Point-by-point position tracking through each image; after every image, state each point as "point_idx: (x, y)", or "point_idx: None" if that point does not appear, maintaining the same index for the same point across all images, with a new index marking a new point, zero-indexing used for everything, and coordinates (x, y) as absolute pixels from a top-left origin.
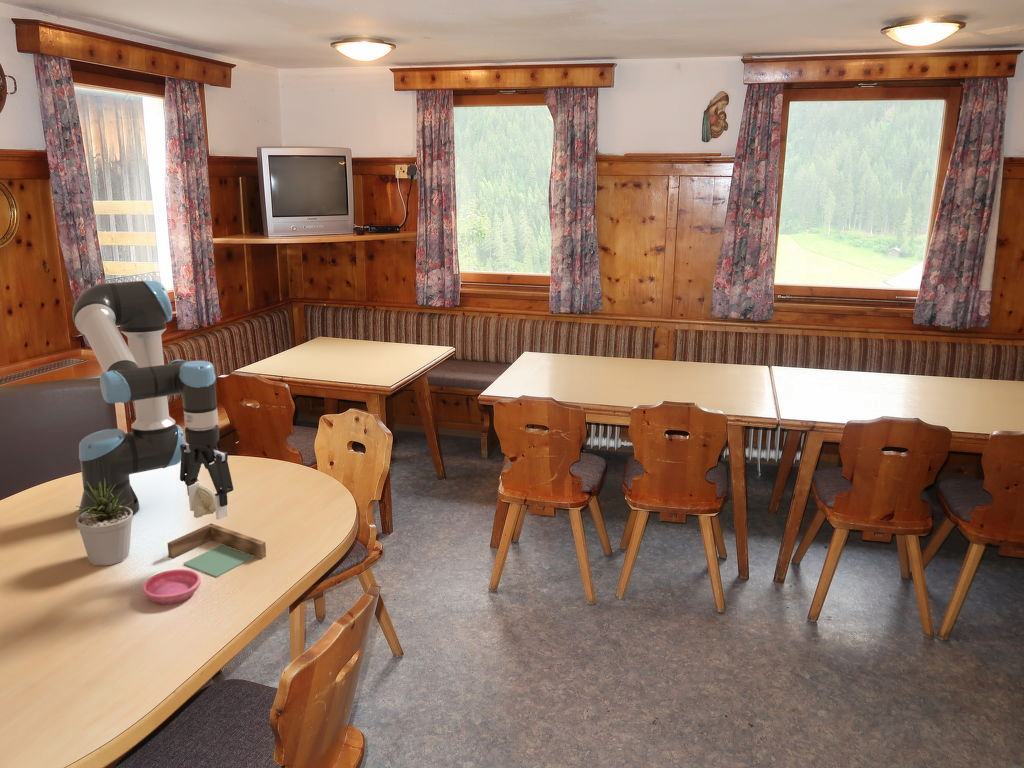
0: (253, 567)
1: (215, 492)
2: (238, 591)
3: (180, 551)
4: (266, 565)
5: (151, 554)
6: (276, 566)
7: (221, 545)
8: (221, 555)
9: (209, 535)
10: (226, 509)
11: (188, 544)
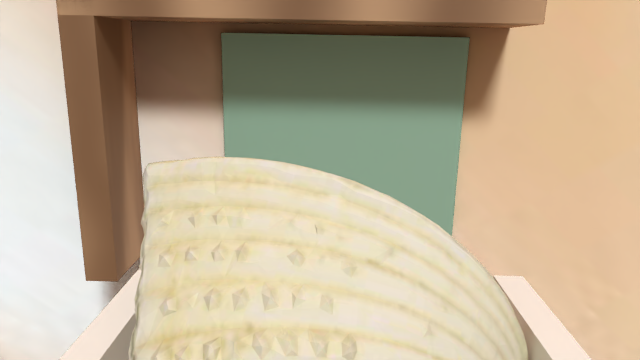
0: (533, 116)
1: (357, 356)
2: (614, 297)
3: (137, 213)
4: (578, 67)
5: (34, 266)
6: (632, 48)
7: (229, 41)
8: (317, 120)
9: (116, 28)
10: (549, 314)
11: (127, 170)
